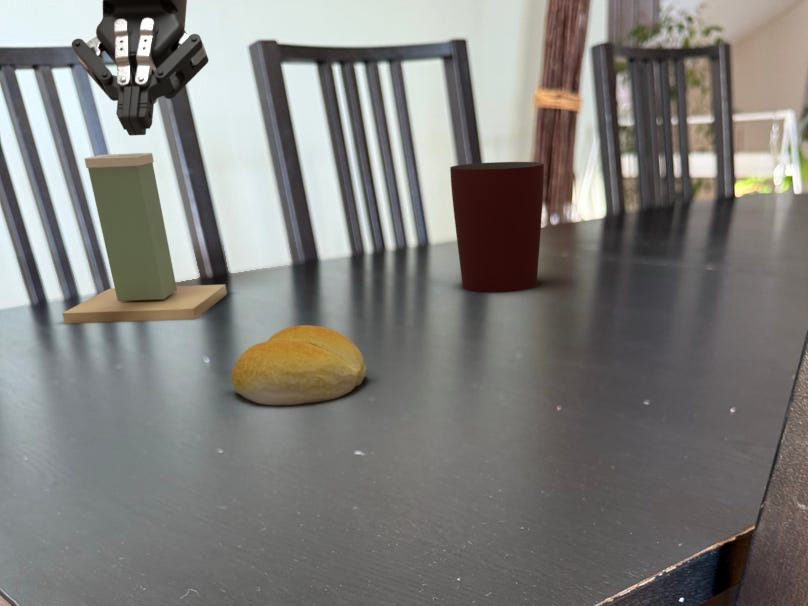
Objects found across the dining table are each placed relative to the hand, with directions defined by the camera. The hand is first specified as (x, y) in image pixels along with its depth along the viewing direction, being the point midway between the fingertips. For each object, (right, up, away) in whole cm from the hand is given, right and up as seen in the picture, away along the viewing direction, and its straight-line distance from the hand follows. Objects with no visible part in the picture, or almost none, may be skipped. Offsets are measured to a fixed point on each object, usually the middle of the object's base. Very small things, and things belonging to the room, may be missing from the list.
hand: (133, 128), depth 87 cm
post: (0, -15, +3) cm, 15 cm away
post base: (0, -16, +3) cm, 16 cm away
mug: (+35, -12, +8) cm, 37 cm away
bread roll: (+20, -31, -23) cm, 43 cm away
